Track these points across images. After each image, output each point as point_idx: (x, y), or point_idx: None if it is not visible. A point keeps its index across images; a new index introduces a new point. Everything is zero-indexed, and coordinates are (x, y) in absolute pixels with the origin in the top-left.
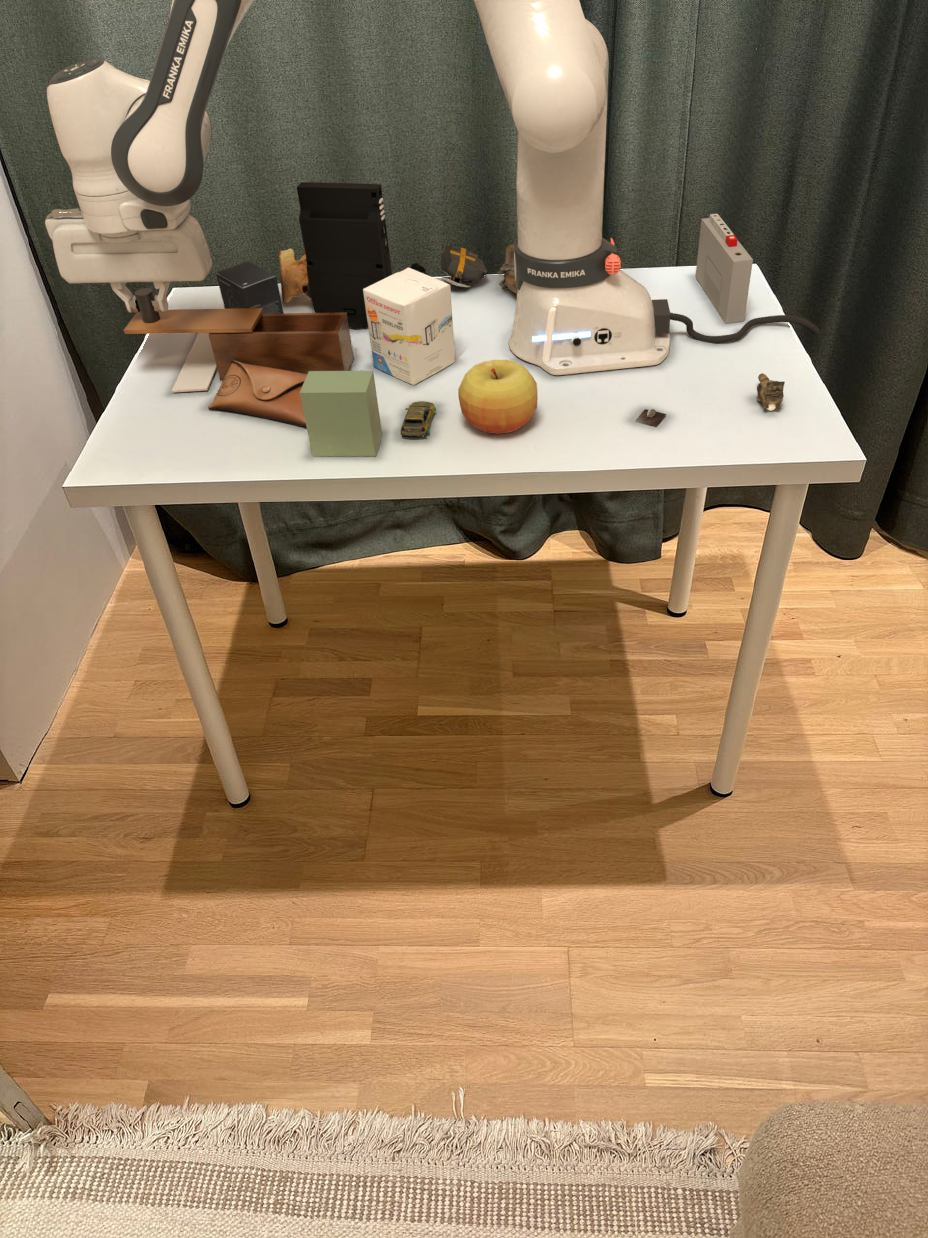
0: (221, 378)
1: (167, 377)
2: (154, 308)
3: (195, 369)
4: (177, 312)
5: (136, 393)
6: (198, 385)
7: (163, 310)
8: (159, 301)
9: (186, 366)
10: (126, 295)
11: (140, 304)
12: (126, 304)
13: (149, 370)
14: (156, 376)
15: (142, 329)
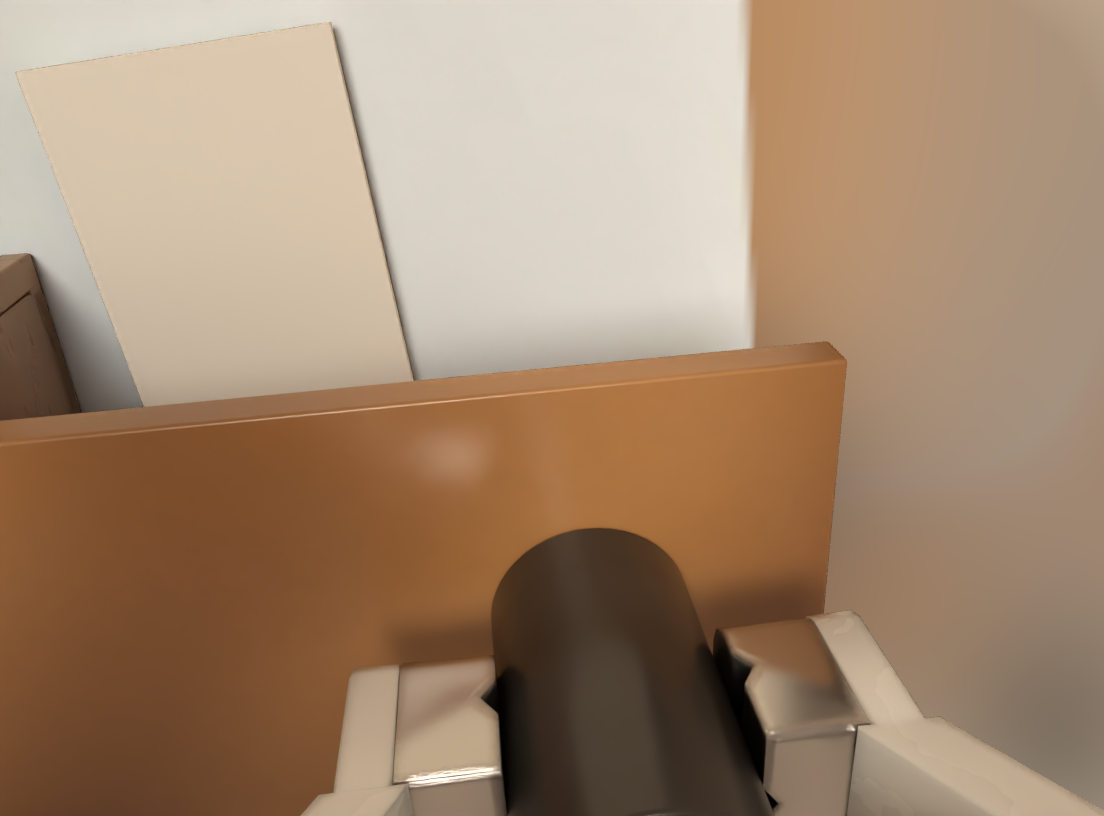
0: (10, 259)
1: (492, 268)
2: (480, 680)
3: (294, 360)
4: None
5: (648, 8)
6: (127, 119)
7: (361, 673)
8: (367, 773)
9: None
10: (916, 810)
11: (665, 692)
12: (886, 679)
13: (669, 350)
14: (584, 276)
15: (604, 388)
